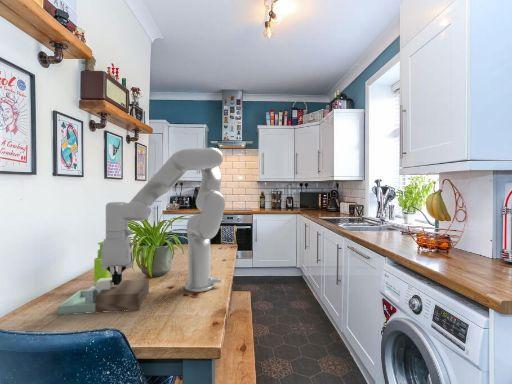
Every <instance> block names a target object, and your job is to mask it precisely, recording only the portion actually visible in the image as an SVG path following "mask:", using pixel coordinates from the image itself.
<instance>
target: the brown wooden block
mask: <svg viewBox="0 0 512 384" xmlns="http://www.w3.org/2000/svg"><path fill="white" fill-rule="evenodd" d="M148 294H149V295H150V279H149V278H147V279H144V278H143V279H130V280H129V279H126V280H123V279H122V281H121V282H120V284H119V285H114V286H113V287H112V288H111V289H107V290H102V291H100V292H99V293H98V294H97V295H96V312H102V313H104V312H103V311H119V312H127V311H126V310H135V311H140V309H141V308H142V306H143V304H144V303H145V301H146V299H147V298H146V297H148V296H149V295H148ZM147 295H148V296H147ZM144 300H145V301H144ZM143 302H144V303H143ZM141 305H142V306H141ZM124 310H125V311H124Z"/></svg>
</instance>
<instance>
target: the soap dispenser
mask: <svg viewBox="0 0 512 384" xmlns="http://www.w3.org/2000/svg"><path fill="white" fill-rule="evenodd" d="M97 245H99V249H98V250H97V257H95V258H94V259H93V261H94V263H93V266H94V268H93V270H94V271H93V274H94V277H93V278H94V279H93V282H94V283H93V285H94V286H95V282H96V281H98V280H99V279H100V278H111V273H110V272H109V271H108V270H105V269H101V266H102V264H101V254H102V246H103V241H100V242H97Z"/></svg>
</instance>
